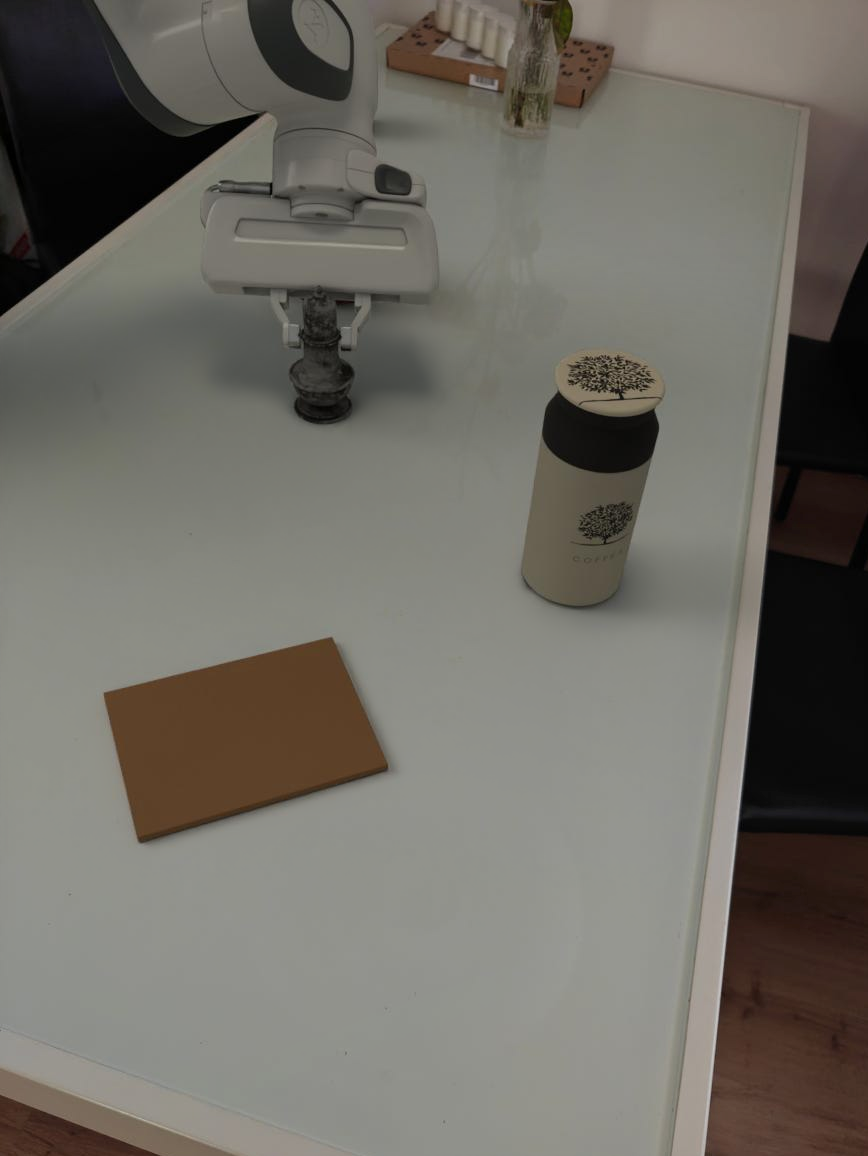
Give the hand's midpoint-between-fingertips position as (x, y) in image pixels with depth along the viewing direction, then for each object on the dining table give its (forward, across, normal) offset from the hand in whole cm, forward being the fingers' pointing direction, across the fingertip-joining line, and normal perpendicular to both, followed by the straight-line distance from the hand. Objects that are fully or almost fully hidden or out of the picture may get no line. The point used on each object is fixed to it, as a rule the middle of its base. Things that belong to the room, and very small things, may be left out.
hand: (320, 349), depth 89 cm
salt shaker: (+4, 0, +5) cm, 7 cm away
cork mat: (+30, -3, -22) cm, 37 cm away
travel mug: (+19, +21, -10) cm, 30 cm away
